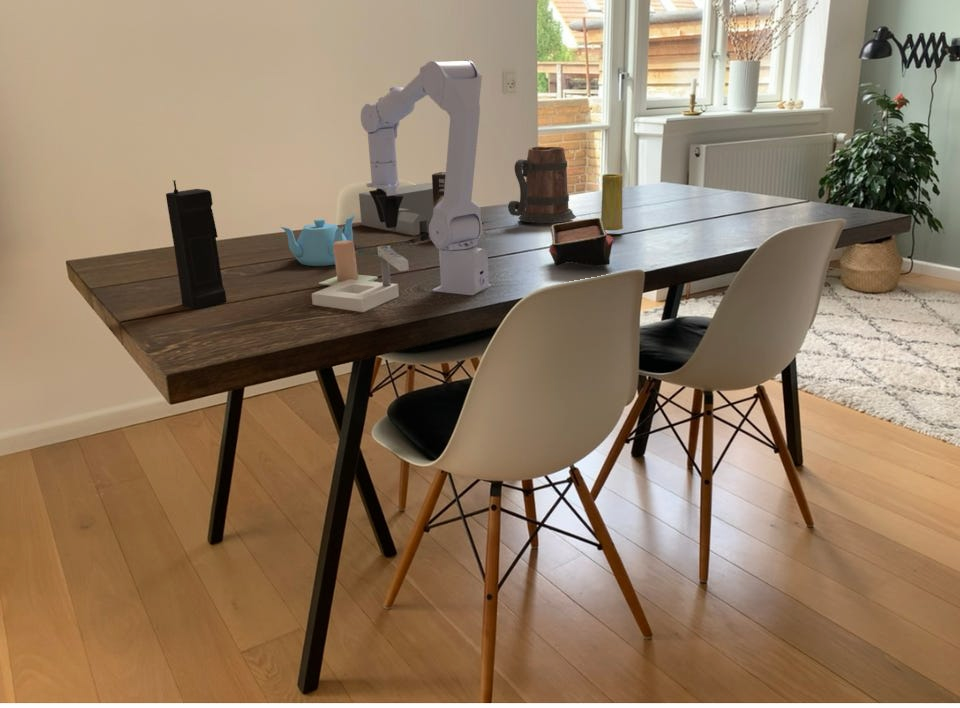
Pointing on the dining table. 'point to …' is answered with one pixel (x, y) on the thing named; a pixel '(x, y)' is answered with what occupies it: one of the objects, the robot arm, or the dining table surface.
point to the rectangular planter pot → (581, 243)
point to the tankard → (542, 187)
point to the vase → (612, 201)
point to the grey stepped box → (403, 211)
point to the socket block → (358, 293)
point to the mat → (334, 281)
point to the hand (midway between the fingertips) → (388, 224)
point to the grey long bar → (393, 258)
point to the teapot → (318, 242)
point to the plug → (345, 260)
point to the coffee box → (438, 187)
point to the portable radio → (196, 248)
